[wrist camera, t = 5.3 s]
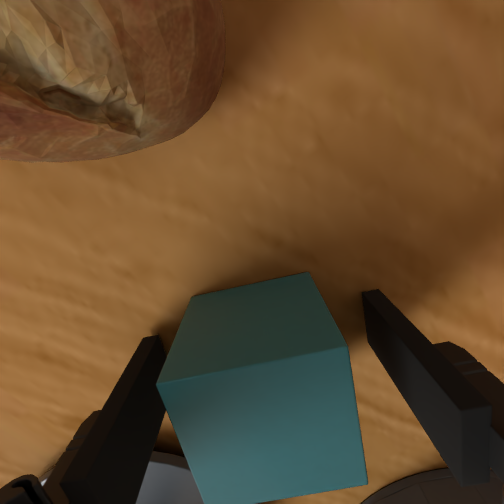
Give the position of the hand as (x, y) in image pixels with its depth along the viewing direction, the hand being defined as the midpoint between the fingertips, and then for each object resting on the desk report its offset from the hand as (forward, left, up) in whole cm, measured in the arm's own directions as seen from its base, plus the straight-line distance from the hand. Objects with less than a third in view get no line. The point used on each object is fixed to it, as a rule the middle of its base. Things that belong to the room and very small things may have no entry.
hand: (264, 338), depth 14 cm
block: (0, 0, 0) cm, 0 cm away
